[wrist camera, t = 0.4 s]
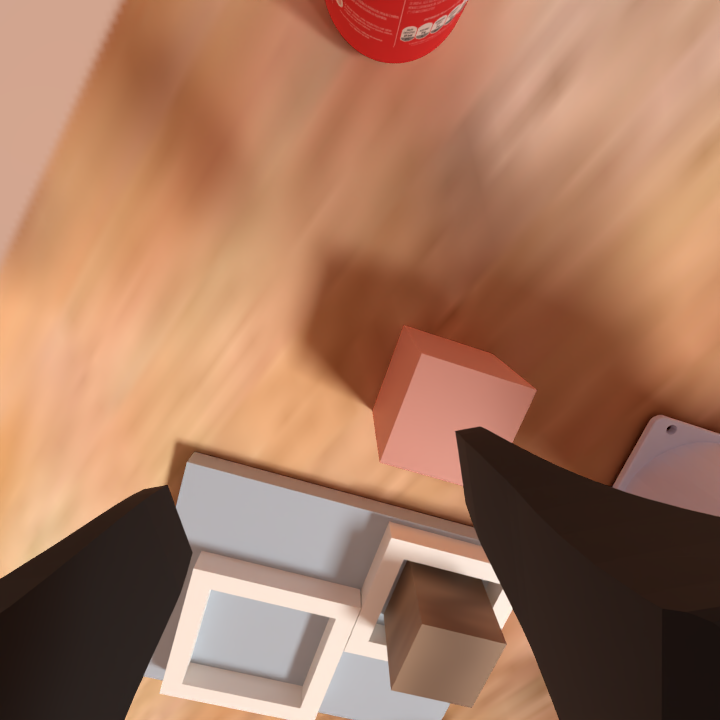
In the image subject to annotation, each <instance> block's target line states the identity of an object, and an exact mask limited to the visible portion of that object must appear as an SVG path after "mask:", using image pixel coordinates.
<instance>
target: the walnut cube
mask: <svg viewBox="0 0 720 720" xmlns="http://www.w3.org/2000/svg"><path fill="white" fill-rule="evenodd" d="M384 625H385V635H386V645H387V656H388V666H389V676H390V687H391V690H392V691H396V692H401V693H406V694H410V695H415V696H419V697H424V698H429V699H433V700H438V701H442V702H447V703H452V704H456V705H461V706H465V707H470V708H472V707H473V705H474V703H475V701H476V699H477V698H478V696H479V694H480V692H481V690H482V688H483V687H484V685H485V683H486V681H487V679H488V677H489V676H490V674H491V672H492V670H493V668H494V667H495V665H496V663H497V661H498V659H499V657H500V656H501V654H502V652H503V650H504V648H505V646H506V645H507V644H506V641H505V639H504V636H503V633H502V631H501V628H500V626H499V623H498V621H497V618H496V616H495V613H494V610H493V608H492V605H491V603H490V600H489V598H488V595H487V592H486V590H485V587H484V585H483V582H482V580H481V579H479V578H475V577H471V576H467V575H463V574H459V573H455V572H452V571H448V570H444V569H440V568H436V567H432V566H428V565H424V564H420V563H416V562H412V561H409V560H407V562H406V564H405V566H404V569H403V571H402V573H401V576H400V578H399V580H398V582H397V585H396V587H395V589H394V592H393V594H392V596H391V599H390V601H389V603H388V605H387V608H386V610H385V612H384Z"/></svg>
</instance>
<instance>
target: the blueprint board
mask: <svg viewBox="0 0 720 720" xmlns="http://www.w3.org/2000/svg"><path fill="white" fill-rule="evenodd" d="M176 509H177V512H178V515H179V517H180V520H181V523H182V525H183V528H184V531H185V533H186V536H187V539H188V541H189V544H190V547H191V549H192V552H193V553H192V557H191V561H190V564H189V568H188V572H187V575H186V578H185V581H184V584H183V588H182V591H181V594H180V596H179V598H178V601H177V603H176V605H175V607H174V610H173V612H172V614H171V616H170V619H169V621H168V623H167V625H166V628H165V630H164V632H163V634H162V636H161V639H160V641H159V643H158V645H157V647H156V650H155V652H154V654H153V656H152V658H151V660H150V663H149V665H148V667H147V669H146V671H145V674H144V677H149V678H154V679H159V680H163V682H162V686H161V690H160V693H159V694H164V695H169V696H174V697H179V698H184V699H189V700H194V701H199V702H204V703H208V704H213V705H218V706H223V707H228V708H233V709H238V710H243V711H248V712H253V713H258V714H263V715H268V716H273V717H278V718H283V719H288V720H315V718H316V716H317V713H318V712H319V713H324V714H329V715H334V716H338V717H343V718H348V719H353V720H442V718H443V716H444V714H445V712H446V710H447V709H448V707H449V705H450V703H447V702H442V701H438V700H433V699H429V698H424V697H419V696H415V695H410V694H406V693H401V692H396V691H392V690H391V687H390V676H389V666H388V656H387V645H386V635H385V625H384V612H385V610H386V608H387V605H388V603H389V601H390V599H391V596H392V594H393V592H394V589H395V587H396V585H397V582H398V580H399V578H400V576H401V573H402V571H403V569H404V566H405V564H406V562H407V560H409V561H412V562H416V563H420V564H424V565H428V566H432V567H436V568H440V569H444V570H448V571H452V572H455V573H459V574H463V575H467V576H471V577H475V578H479V579H481V580H482V582H483V585H484V587H485V590H486V592H487V595H488V598H489V600H490V603H491V605H492V608H493V610H494V613H495V616H496V618H497V621H498V623H499V626H500V628H501V630H502V628H503V626H504V624H505V622H506V620H507V618H508V617H509V615H510V613H511V611H512V609H513V608H512V606H511V604H510V602H509V600H508V598H507V596H506V594H505V592H504V590H503V588H502V586H501V584H500V582H499V580H498V578H497V576H496V574H495V572H494V570H493V568H492V566H491V564H490V562H489V560H488V558H487V556H486V554H485V552H484V550H483V548H482V546H481V544H480V542H479V539H478V537H477V534H476V531H475V528H474V527H471V526H467V525H463V524H460V523H456V522H452V521H448V520H445V519H441V518H437V517H434V516H430V515H426V514H423V513H419V512H415V511H412V510H408V509H404V508H401V507H397V506H393V505H389V504H386V503H382V502H378V501H375V500H371V499H367V498H364V497H360V496H356V495H353V494H349V493H345V492H341V491H338V490H334V489H330V488H327V487H323V486H319V485H316V484H312V483H308V482H305V481H301V480H297V479H294V478H290V477H286V476H282V475H279V474H275V473H271V472H268V471H264V470H260V469H257V468H253V467H249V466H246V465H242V464H238V463H235V462H231V461H227V460H223V459H220V458H216V457H212V456H209V455H205V454H201V453H198V452H194V453H193V454H192V455H191V457H190V458H189V460H188V461H187V464H186V468H185V472H184V476H183V480H182V484H181V488H180V492H179V496H178V500H177V504H176Z"/></svg>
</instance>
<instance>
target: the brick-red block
mask: <svg viewBox="0 0 720 720" xmlns="http://www.w3.org/2000/svg"><path fill="white" fill-rule="evenodd" d="M536 392H537V390H536V389H535V388H534V387H533V386H532V385H530V384H529V383H528V382H527V381H525V380H524V379H523V378H522V377H521V376H519V375H518V374H517V373H516V372H514V371H513V370H512V369H511V368H509V367H508V366H507V365H506V364H505V363H503V362H502V361H501V360H500V359H498V358H497V357H496V356H495V355H493V354H492V353H489V352H486V351H483V350H480V349H476V348H473V347H470V346H467V345H464V344H461V343H458V342H455V341H452V340H449V339H446V338H443V337H439V336H436V335H433V334H430V333H427V332H424V331H421V330H418V329H415V328H412V327H409V326H406V325H404V326H403V328H402V331H401V334H400V336H399V339H398V342H397V345H396V347H395V350H394V353H393V356H392V358H391V361H390V364H389V367H388V369H387V372H386V375H385V377H384V380H383V383H382V386H381V388H380V391H379V394H378V397H377V399H376V402H375V405H374V408H373V410H372V412H373V419H374V426H375V433H376V440H377V447H378V454H379V461H380V463H384V464H387V465H391V466H394V467H398V468H401V469H405V470H408V471H412V472H415V473H419V474H422V475H426V476H430V477H433V478H437V479H440V480H444V481H447V482H451V483H454V484H458V485H461V486H463V481H462V474H461V467H460V461H459V454H458V447H457V440H456V434H455V431H458V430H463V429H468V428H474V427H479V426H481V427H483V428H485V429H487V430H489V431H491V432H493V433H494V434H496V435H498V436H500V437H502V438H504V439H505V440H507V441H509V442H511V443H512V442H513V440H514V438H515V436H516V434H517V432H518V430H519V428H520V425H521V423H522V421H523V419H524V417H525V415H526V413H527V411H528V409H529V406H530V404H531V402H532V400H533V398H534V396H535V394H536Z"/></svg>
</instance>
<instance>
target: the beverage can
mask: <svg viewBox="0 0 720 720" xmlns="http://www.w3.org/2000/svg"><path fill="white" fill-rule="evenodd" d="M325 2H326V6H327V9H328V11H329V14H330V16H331V19H332V21H333V23H334V24H335V26H336V28H337V29H338V31H339V32H340V34H341V35H342V36H343V38H344V39H345V40H346V41H347V42H348V43H349V44H350V45H351V46H352V47H353V48H354V49H356V50H357V51H358V52H360V53H361V54H363V55H365V56H367V57H369V58H371V59H374V60H376V61H380V62H385V63H405V62H410V61H413V60H416V59H418V58H421V57H423V56H425V55H427V54H428V53H430V52H431V51H433V50H434V49H435V48H437V47H438V46H439V45H440V44H441V43H442V42H443V41H444V40H445V39H446V38H447V36H448V35H449V34H450V32H451V31H452V30H453V28H454V26H455V25H456V23H457V21H458V19H459V17H460V15H461V14H462V12H463V10H464V8H465V6H466V4H467V2H468V0H325Z"/></svg>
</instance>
